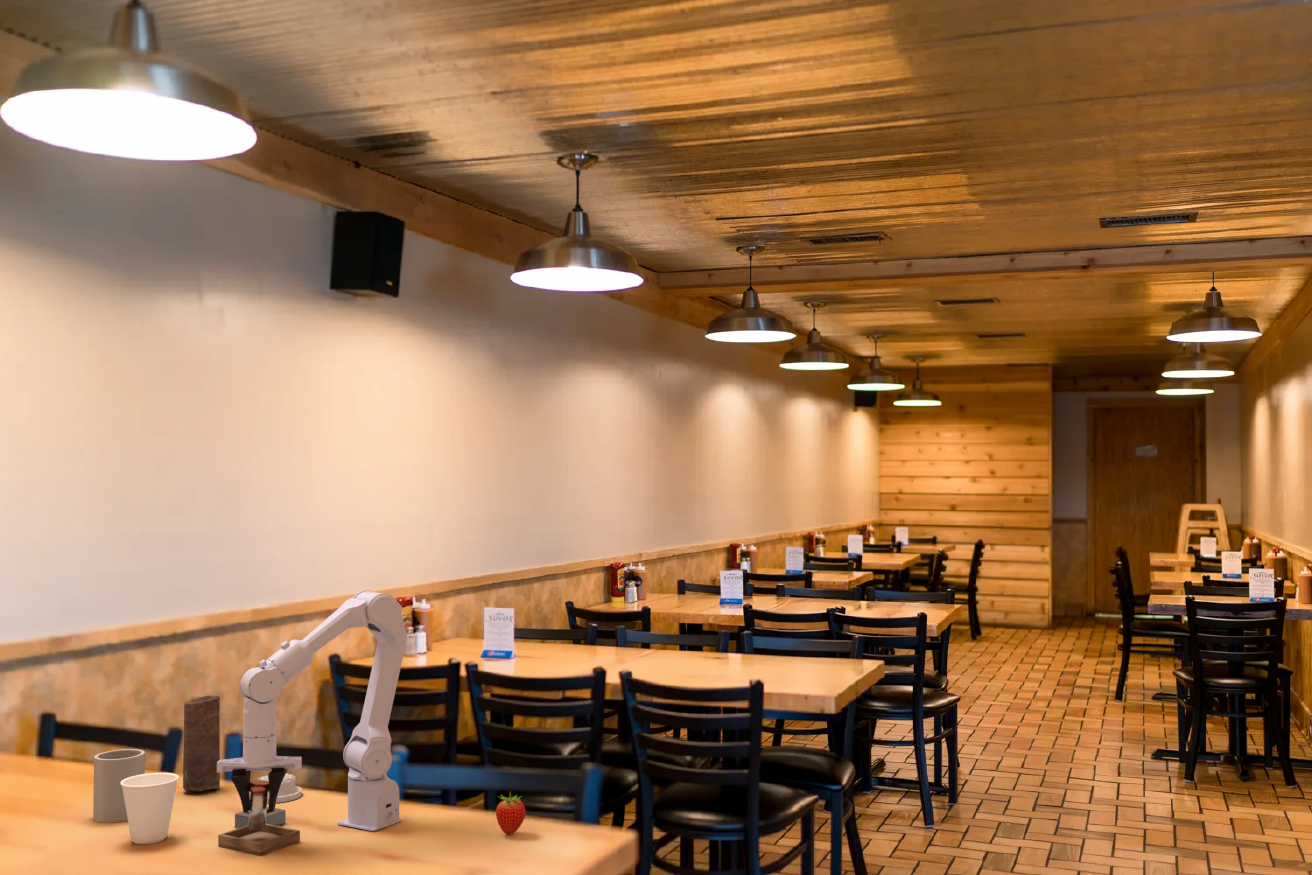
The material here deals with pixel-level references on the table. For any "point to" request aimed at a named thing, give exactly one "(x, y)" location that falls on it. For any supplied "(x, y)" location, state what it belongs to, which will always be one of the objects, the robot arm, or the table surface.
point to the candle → (201, 743)
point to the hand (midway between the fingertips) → (259, 810)
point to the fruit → (510, 814)
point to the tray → (259, 839)
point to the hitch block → (272, 818)
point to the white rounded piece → (286, 789)
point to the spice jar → (258, 804)
